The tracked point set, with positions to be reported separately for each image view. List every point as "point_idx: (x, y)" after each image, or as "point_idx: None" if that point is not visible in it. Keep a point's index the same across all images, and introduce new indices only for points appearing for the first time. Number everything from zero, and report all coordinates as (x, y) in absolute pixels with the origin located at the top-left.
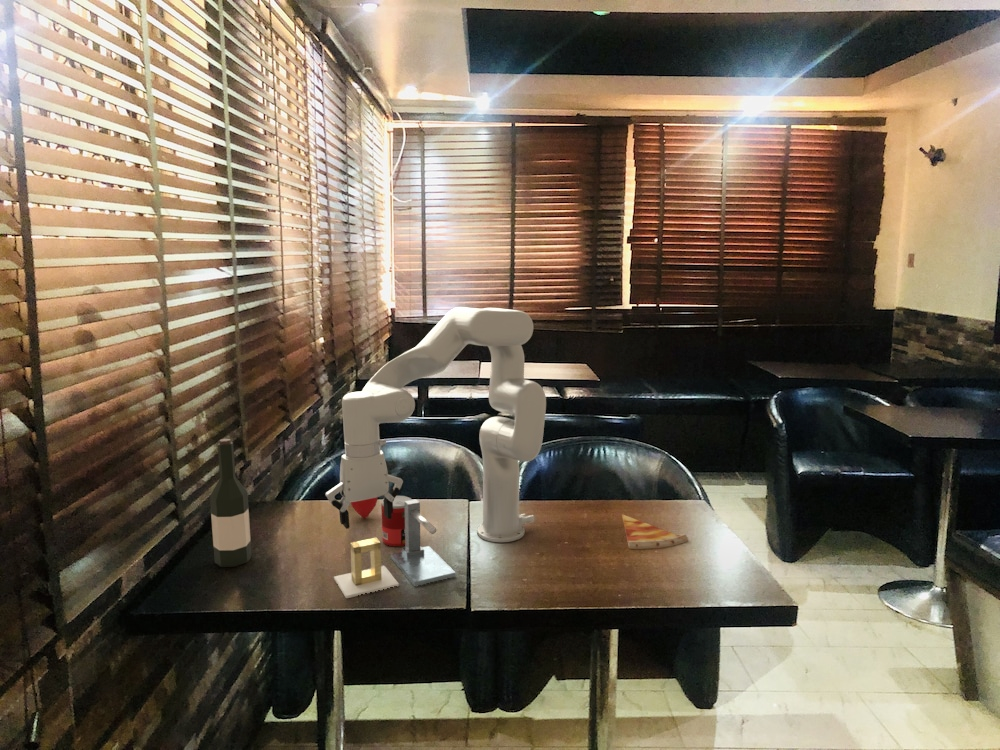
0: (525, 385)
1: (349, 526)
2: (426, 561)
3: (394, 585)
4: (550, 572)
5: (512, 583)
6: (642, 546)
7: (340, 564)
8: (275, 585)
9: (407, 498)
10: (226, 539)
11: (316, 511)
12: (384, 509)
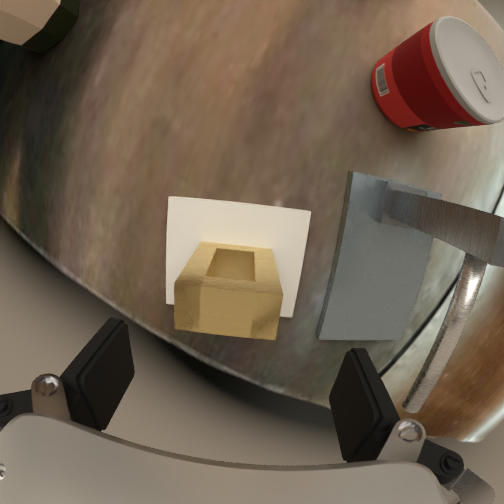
0: None
1: (132, 377)
2: (396, 266)
3: (281, 315)
4: (472, 368)
5: None
6: None
7: (216, 122)
8: (62, 161)
9: (502, 79)
10: (1, 38)
11: None
12: (353, 379)
